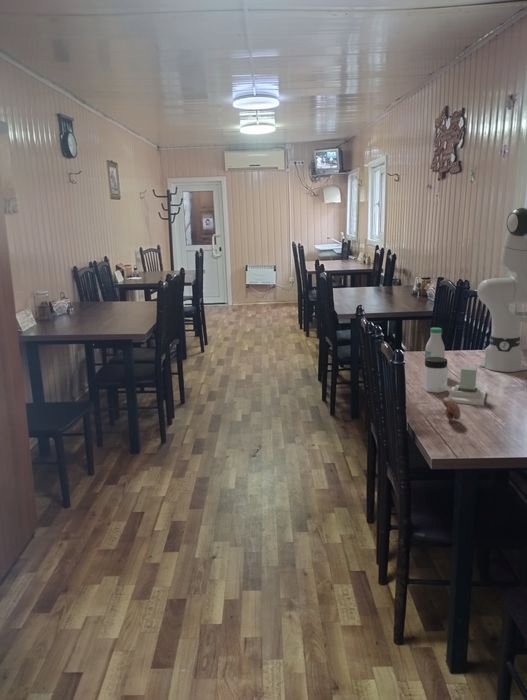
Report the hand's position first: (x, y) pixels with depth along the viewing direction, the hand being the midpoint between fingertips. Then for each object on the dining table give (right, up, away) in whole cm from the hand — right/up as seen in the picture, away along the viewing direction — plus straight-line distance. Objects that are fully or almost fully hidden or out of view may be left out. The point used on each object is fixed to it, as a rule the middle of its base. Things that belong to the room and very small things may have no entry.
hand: (516, 316), depth 197 cm
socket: (-14, -29, +9) cm, 33 cm away
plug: (-14, -29, +9) cm, 33 cm away
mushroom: (-28, -35, -15) cm, 47 cm away
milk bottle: (-17, -23, +38) cm, 47 cm away
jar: (-23, -27, +19) cm, 40 cm away
